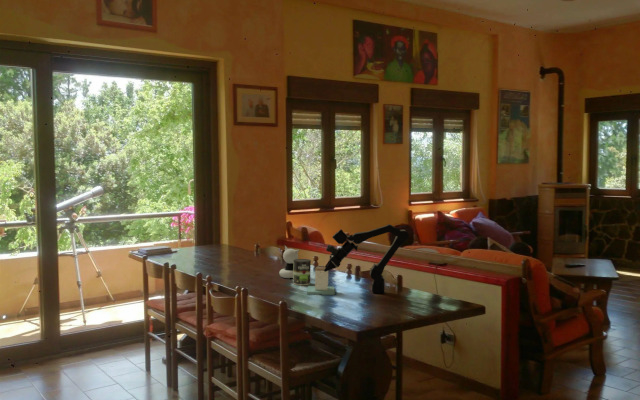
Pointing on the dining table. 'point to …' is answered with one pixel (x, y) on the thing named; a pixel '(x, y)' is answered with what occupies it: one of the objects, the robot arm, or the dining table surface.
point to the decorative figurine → (289, 262)
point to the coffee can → (301, 271)
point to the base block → (321, 291)
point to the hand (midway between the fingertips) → (324, 269)
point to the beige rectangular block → (321, 279)
